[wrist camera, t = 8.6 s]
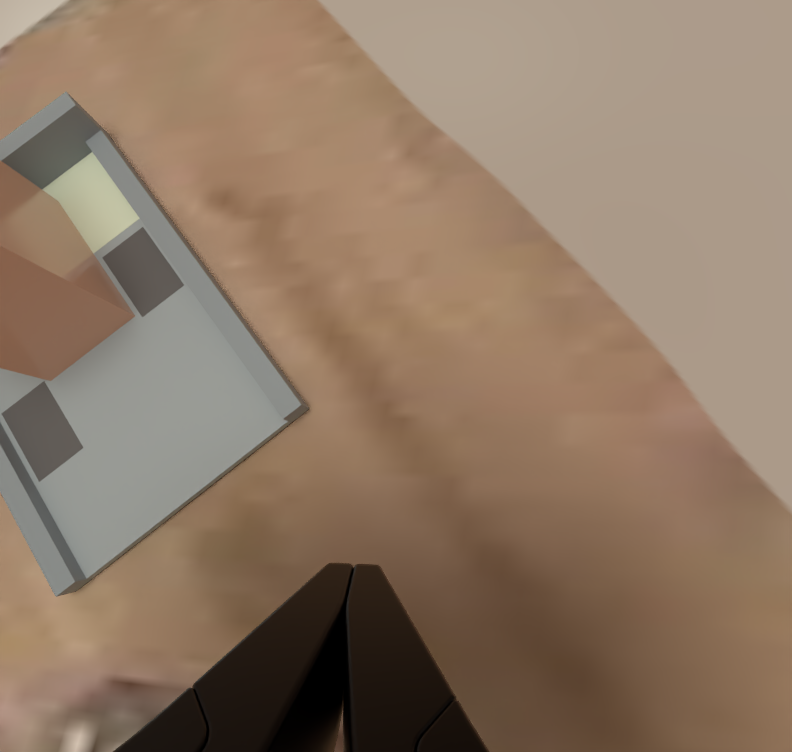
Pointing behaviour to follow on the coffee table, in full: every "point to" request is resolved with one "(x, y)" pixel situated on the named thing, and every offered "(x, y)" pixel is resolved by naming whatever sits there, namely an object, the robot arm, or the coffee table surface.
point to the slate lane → (127, 370)
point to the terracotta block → (49, 284)
